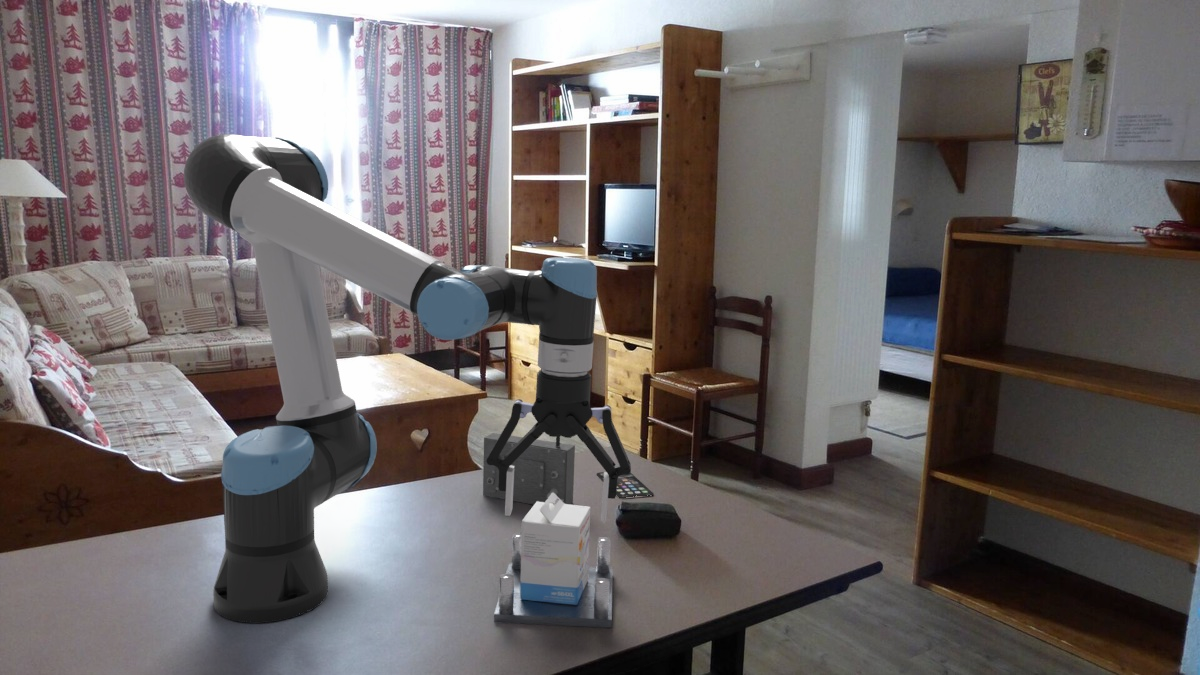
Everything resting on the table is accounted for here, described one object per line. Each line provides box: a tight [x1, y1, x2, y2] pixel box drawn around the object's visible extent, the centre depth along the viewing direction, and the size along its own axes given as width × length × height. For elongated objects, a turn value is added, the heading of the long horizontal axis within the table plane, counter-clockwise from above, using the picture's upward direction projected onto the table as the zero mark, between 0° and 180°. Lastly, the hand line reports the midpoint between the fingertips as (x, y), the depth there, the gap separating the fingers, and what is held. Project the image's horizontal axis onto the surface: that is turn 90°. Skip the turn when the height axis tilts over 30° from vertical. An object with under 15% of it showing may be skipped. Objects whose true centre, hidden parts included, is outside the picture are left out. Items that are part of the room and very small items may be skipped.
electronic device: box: [482, 432, 576, 505], centre depth 160 cm, size 17×7×20 cm, turn 69°
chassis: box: [493, 532, 614, 629], centre depth 125 cm, size 16×16×6 cm
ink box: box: [520, 493, 592, 605], centre depth 124 cm, size 9×8×13 cm
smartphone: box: [596, 471, 655, 499], centre depth 173 cm, size 7×1×15 cm
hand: (556, 515), depth 123 cm, fingers open, 13 cm apart
